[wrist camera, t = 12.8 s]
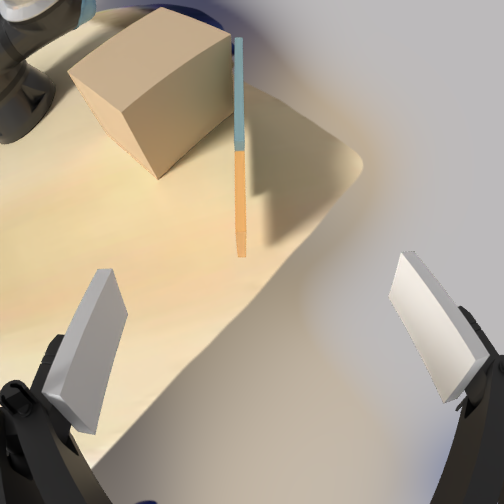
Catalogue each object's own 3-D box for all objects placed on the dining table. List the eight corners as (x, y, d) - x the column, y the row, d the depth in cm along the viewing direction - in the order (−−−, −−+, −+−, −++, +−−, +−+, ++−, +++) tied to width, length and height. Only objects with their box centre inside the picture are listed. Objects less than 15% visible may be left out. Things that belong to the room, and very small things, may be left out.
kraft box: (107, 134, 38) (67, 71, 25) (177, 76, 41) (161, 6, 27) (158, 179, 37) (121, 112, 23) (233, 112, 39) (230, 34, 26)
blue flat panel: (238, 260, 33) (235, 225, 22) (236, 105, 38) (234, 37, 26) (245, 260, 33) (246, 225, 22) (242, 105, 38) (242, 37, 26)
